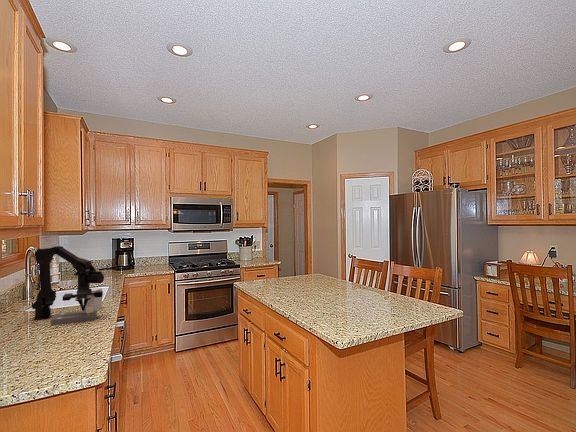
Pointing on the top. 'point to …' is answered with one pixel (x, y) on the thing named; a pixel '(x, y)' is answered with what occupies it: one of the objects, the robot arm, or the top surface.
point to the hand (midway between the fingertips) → (83, 310)
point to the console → (73, 317)
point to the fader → (89, 308)
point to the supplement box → (95, 300)
